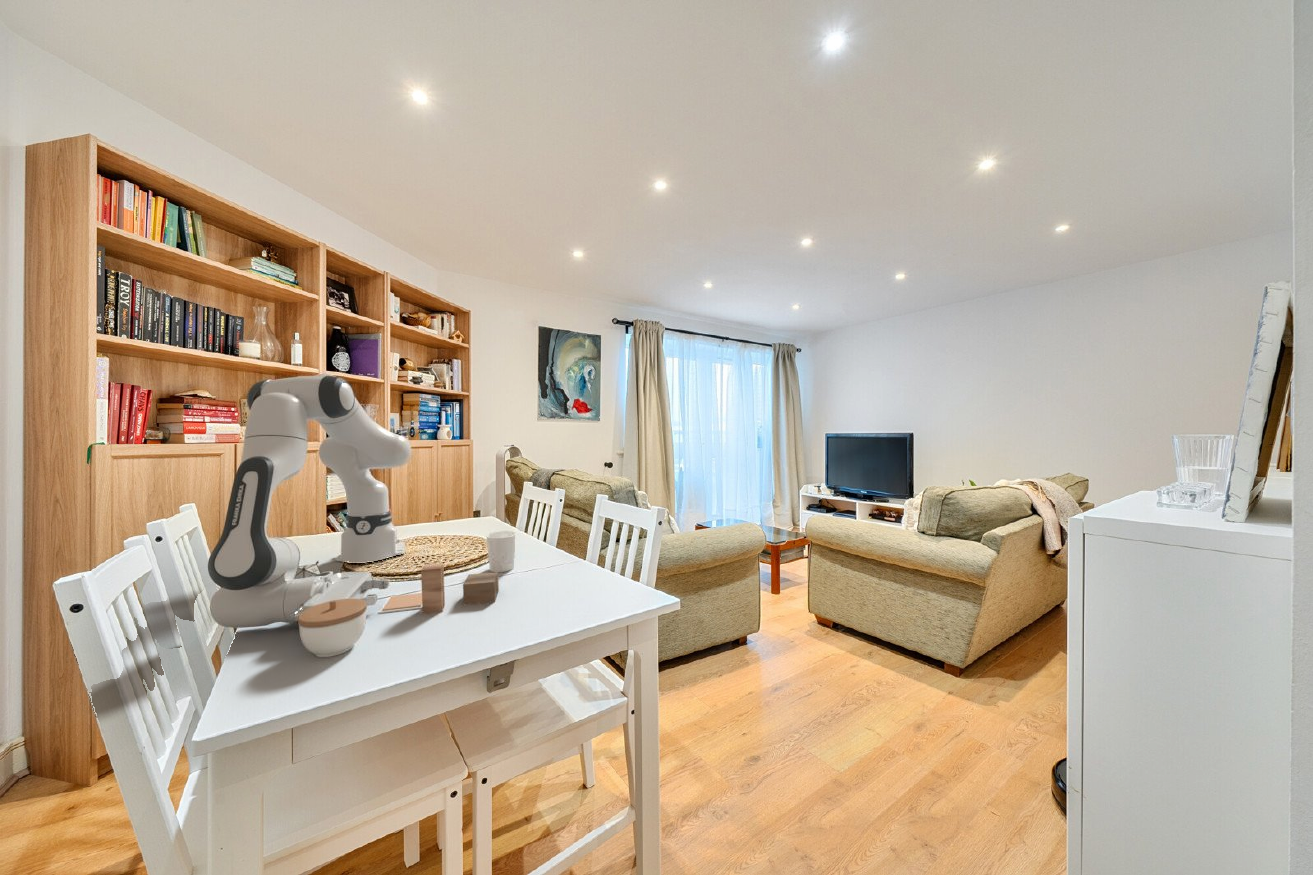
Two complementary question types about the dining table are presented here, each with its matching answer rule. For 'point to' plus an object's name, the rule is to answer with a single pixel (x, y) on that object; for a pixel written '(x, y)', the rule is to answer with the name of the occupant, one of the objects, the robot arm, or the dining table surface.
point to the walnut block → (480, 588)
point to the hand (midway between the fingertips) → (382, 591)
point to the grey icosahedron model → (307, 571)
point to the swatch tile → (402, 603)
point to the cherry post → (432, 588)
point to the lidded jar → (332, 626)
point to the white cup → (501, 551)
